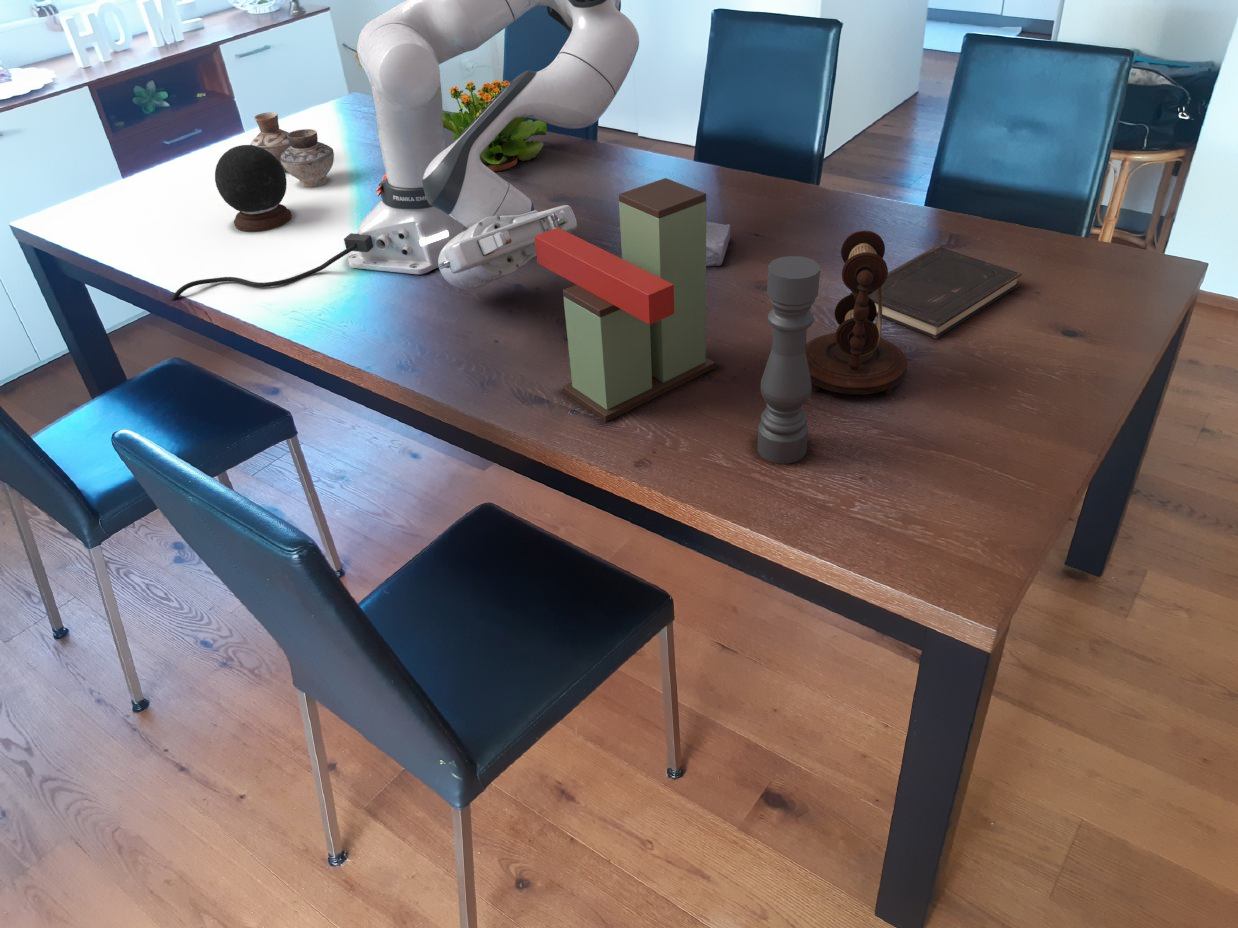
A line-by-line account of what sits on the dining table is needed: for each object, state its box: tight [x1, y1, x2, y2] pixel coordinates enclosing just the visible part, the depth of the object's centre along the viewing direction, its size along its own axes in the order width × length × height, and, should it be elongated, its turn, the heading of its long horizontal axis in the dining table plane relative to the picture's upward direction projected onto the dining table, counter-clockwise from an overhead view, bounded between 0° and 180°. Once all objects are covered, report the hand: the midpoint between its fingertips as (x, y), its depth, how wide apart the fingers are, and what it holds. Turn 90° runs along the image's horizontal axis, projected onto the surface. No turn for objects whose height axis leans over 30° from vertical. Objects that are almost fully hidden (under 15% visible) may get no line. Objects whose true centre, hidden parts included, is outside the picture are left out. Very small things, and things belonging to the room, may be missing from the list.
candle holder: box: [756, 255, 821, 465], centre depth 108 cm, size 6×6×25 cm
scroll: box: [805, 230, 908, 396], centre depth 122 cm, size 15×15×20 cm
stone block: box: [706, 221, 731, 267], centre depth 162 cm, size 12×5×10 cm
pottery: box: [250, 111, 335, 188], centre depth 202 cm, size 11×25×12 cm, turn 47°
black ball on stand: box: [214, 144, 293, 233], centre depth 181 cm, size 13×13×15 cm
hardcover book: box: [849, 245, 1023, 340], centre depth 145 cm, size 16×23×2 cm
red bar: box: [534, 228, 674, 325], centre depth 118 cm, size 24×4×4 cm, turn 39°
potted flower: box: [443, 79, 548, 173], centre depth 198 cm, size 25×24×18 cm
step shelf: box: [562, 177, 716, 423], centre depth 122 cm, size 10×20×26 cm, turn 128°
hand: (534, 227), depth 126 cm, fingers open, 8 cm apart
